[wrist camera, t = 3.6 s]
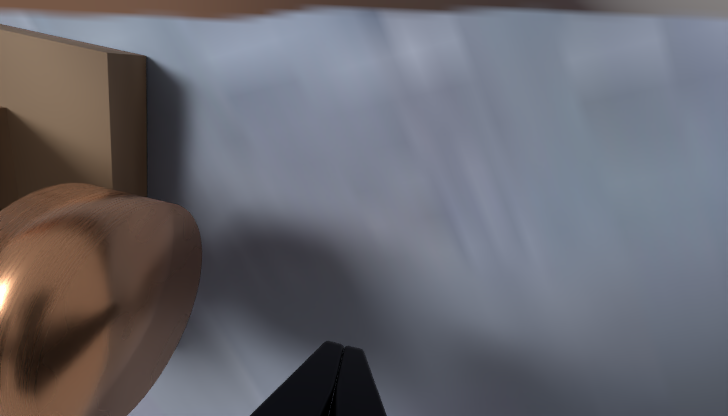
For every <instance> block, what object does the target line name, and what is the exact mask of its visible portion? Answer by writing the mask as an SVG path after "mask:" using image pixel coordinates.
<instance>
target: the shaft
mask: <svg viewBox="0 0 728 416" xmlns="http://www.w3.org/2000/svg"><path fill="white" fill-rule="evenodd" d="M201 264H202V245H201V237H200V232H199V229H198V226H197V224H196V222H195V219H194V218H193V216H192V215H191V214H190V212H188V211H187V210H186V209H185V208H183V207H181V206H180V205H177V204H173V203H168V202H164V201H160V200H155V199H151V198H147V197H142V196H138V195H134V194H130V193H125V192H121V191H117V190H112V189H108V188H104V187H99V186H95V185H91V184H86V183H65V184H58V185H54V186H50V187H46V188H43V189H40V190H38V191H35V192H32V193H30V194H28V195H26V196H24V197H22V198H20V199H18V200H17V201H15V202H13V203H12V204H10V205H9V206H7V207H6V208H4V209H3V210H1V211H0V416H127V415H128V414H129V413H130V412H131V411H132V410H133V409H134V408H135V407H136V406H137V405H138V403H139V402H140V401H141V400H142V399H143V398H144V397H145V395H146V394H147V393H148V391H149V390H150V389H151V387H152V386H153V385H154V383H155V382H156V380H157V379H158V378H159V376H160V375H161V373H162V371H163V370H164V368H165V367H166V365H167V363H168V362H169V360H170V358H171V356H172V354H173V353H174V351H175V349H176V347H177V345H178V343H179V341H180V339H181V336H182V334H183V332H184V329H185V327H186V324H187V322H188V319H189V317H190V314H191V311H192V308H193V305H194V301H195V298H196V294H197V290H198V285H199V280H200V273H201Z"/></svg>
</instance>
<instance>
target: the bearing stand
mask: <svg viewBox="0 0 728 416" xmlns="http://www.w3.org/2000/svg"><path fill="white" fill-rule="evenodd" d="M65 183H86V184H91V185H95V186H99V187H104V188H108V189H112V190H117V191H121V192H125V193H130V194H134V195H138V196H142V197H147V103H146V56H144V55H139V54H135V53H130V52H126V51H121V50H117V49H112V48H107V47H103V46H98V45H94V44H89V43H84V42H80V41H75V40H71V39H66V38H62V37H57V36H52V35H48V34H43V33H39V32H34V31H30V30H25V29H20V28H16V27H11V26H7V25H2V24H0V211H1V210H3V209H4V208H6V207H7V206H9V205H10V204H12V203H13V202H15V201H17V200H18V199H20V198H22V197H24V196H26V195H28V194H30V193H32V192H35V191H38V190H40V189H43V188H46V187H50V186H54V185H58V184H65Z"/></svg>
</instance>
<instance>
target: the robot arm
mask: <svg viewBox="0 0 728 416" xmlns="http://www.w3.org/2000/svg"><path fill="white" fill-rule="evenodd" d="M343 349H344V350H343ZM342 354H343V355H342ZM341 358H342V359H341ZM340 363H341V364H340ZM339 367H340V368H339ZM338 371H339V372H338ZM337 376H338V377H337ZM336 380H337V381H336ZM335 385H336V386H335ZM334 389H335V390H334ZM333 393H334V395H333ZM332 398H333V399H332ZM331 402H332V403H331ZM330 407H331V408H330ZM329 411H330V412H329ZM328 415H329V416H387V415H386V412H385V409H384V407H383V404H382V401H381V398H380V395H379V393H378V390H377V387H376V384H375V381H374V379H373V376H372V373H371V370H370V367H369V365H368V362H367V359H366V356H365V353H364V351H363V350H362V349H360V348H356V347H351V346H345V347H344V346H343V345H342V344H339V343H335V342H330V341H326V342H324V343H323V344H322V345H321V346H320V347H319V348H318V349H317V350H316V351H315V352H314V353H313V354H312V355H311V356H310V357H309V358H308V359H307V360H306V361H305V362H304V363H303V364H302V365H301V366H300V367H299V368H298V369H297V370H296V371H295V372H294V373H293V374H292V375H291V376H290V377H289V378H288V379H287V380H286V381H285V382H284V383H283V384H282V385H280V386H279V387H278V388H277V389H276V390H275V391H274V392H273V393H272V394H271V395H270V396H269V397H268V398H267V399H266V400H265V401H264V402H263V403H262V404H261V405H260V406H259V407H258V408H257V409H256V410H255V411H254V412H253V413H252V414H251V415H250V416H328Z"/></svg>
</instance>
